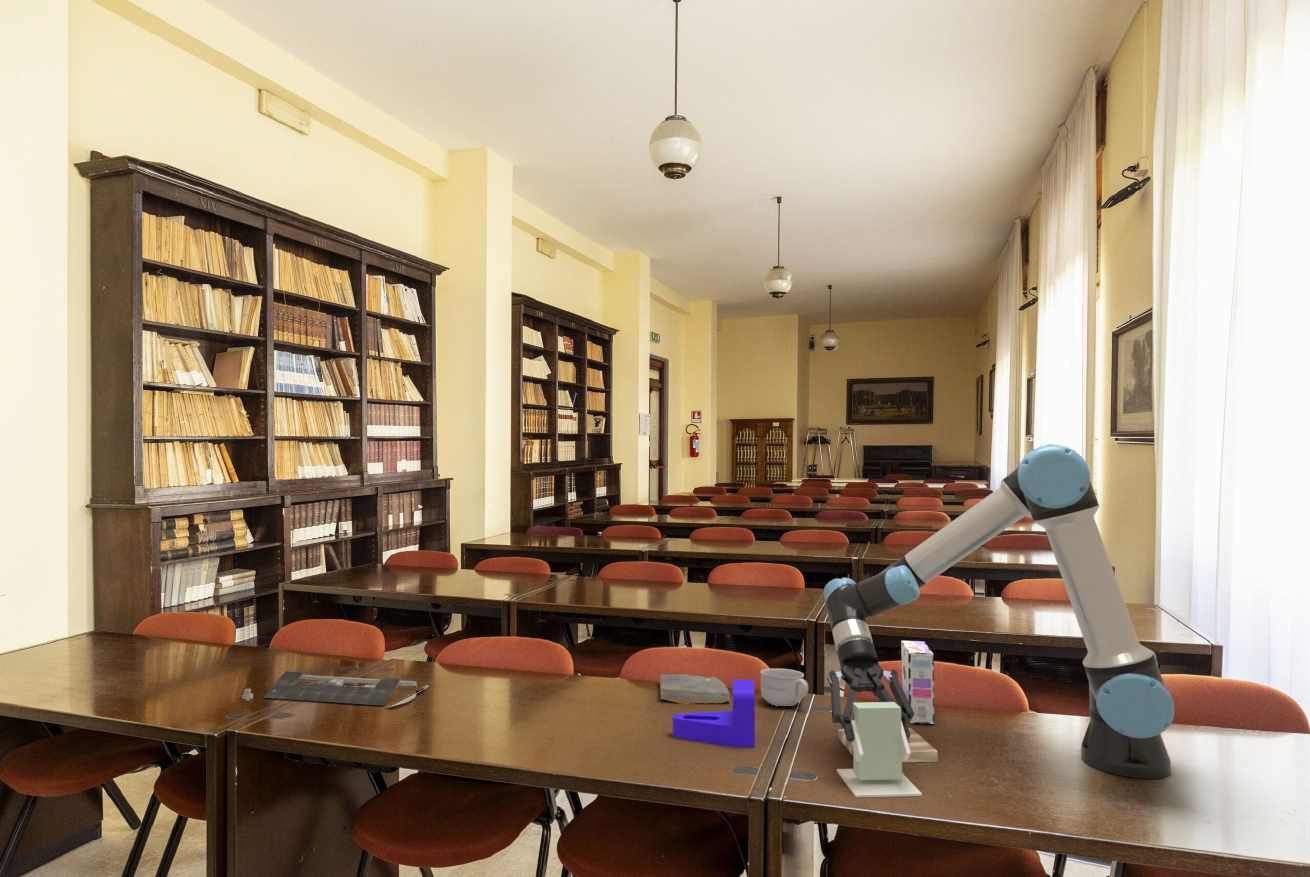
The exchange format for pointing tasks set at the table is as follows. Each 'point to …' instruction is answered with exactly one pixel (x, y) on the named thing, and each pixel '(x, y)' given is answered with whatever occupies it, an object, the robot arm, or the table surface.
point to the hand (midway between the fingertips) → (883, 757)
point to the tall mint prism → (878, 740)
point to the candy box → (918, 680)
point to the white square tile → (878, 786)
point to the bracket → (722, 721)
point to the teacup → (783, 686)
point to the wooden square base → (916, 743)
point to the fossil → (693, 688)
